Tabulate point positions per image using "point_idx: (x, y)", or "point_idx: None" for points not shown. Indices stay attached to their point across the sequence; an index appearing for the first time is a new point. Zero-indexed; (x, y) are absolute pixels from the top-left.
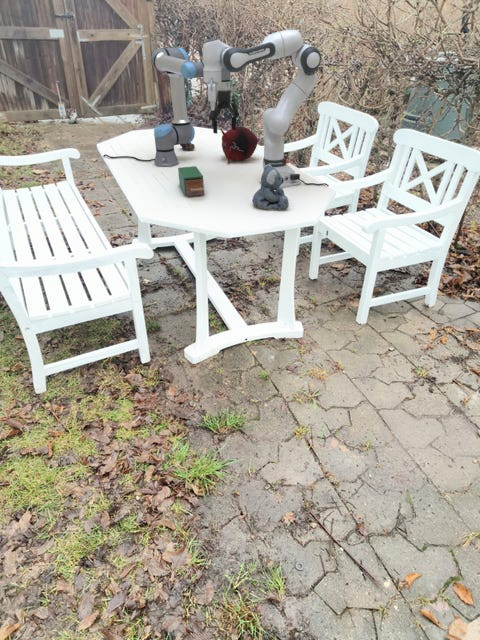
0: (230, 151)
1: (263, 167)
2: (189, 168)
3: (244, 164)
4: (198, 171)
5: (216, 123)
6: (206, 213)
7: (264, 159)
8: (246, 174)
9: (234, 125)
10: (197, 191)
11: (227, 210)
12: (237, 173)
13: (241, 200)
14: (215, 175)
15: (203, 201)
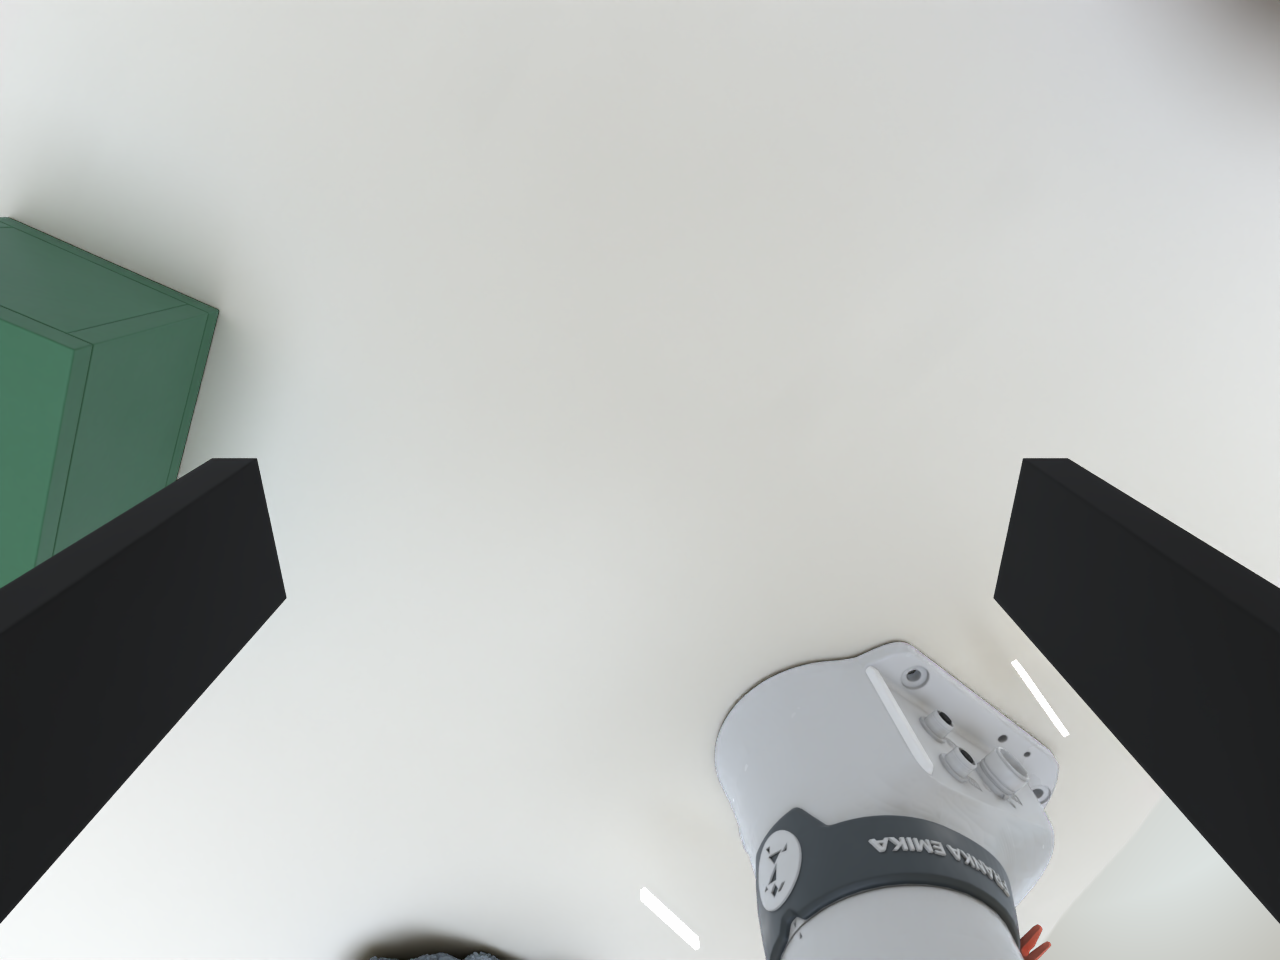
0: None
1: (765, 843)
2: None
3: (1205, 45)
4: (16, 560)
5: (36, 842)
6: None
7: (777, 940)
8: (861, 413)
9: (1072, 674)
10: None
11: (163, 916)
12: (819, 313)
13: (350, 855)
14: (569, 188)
15: None
